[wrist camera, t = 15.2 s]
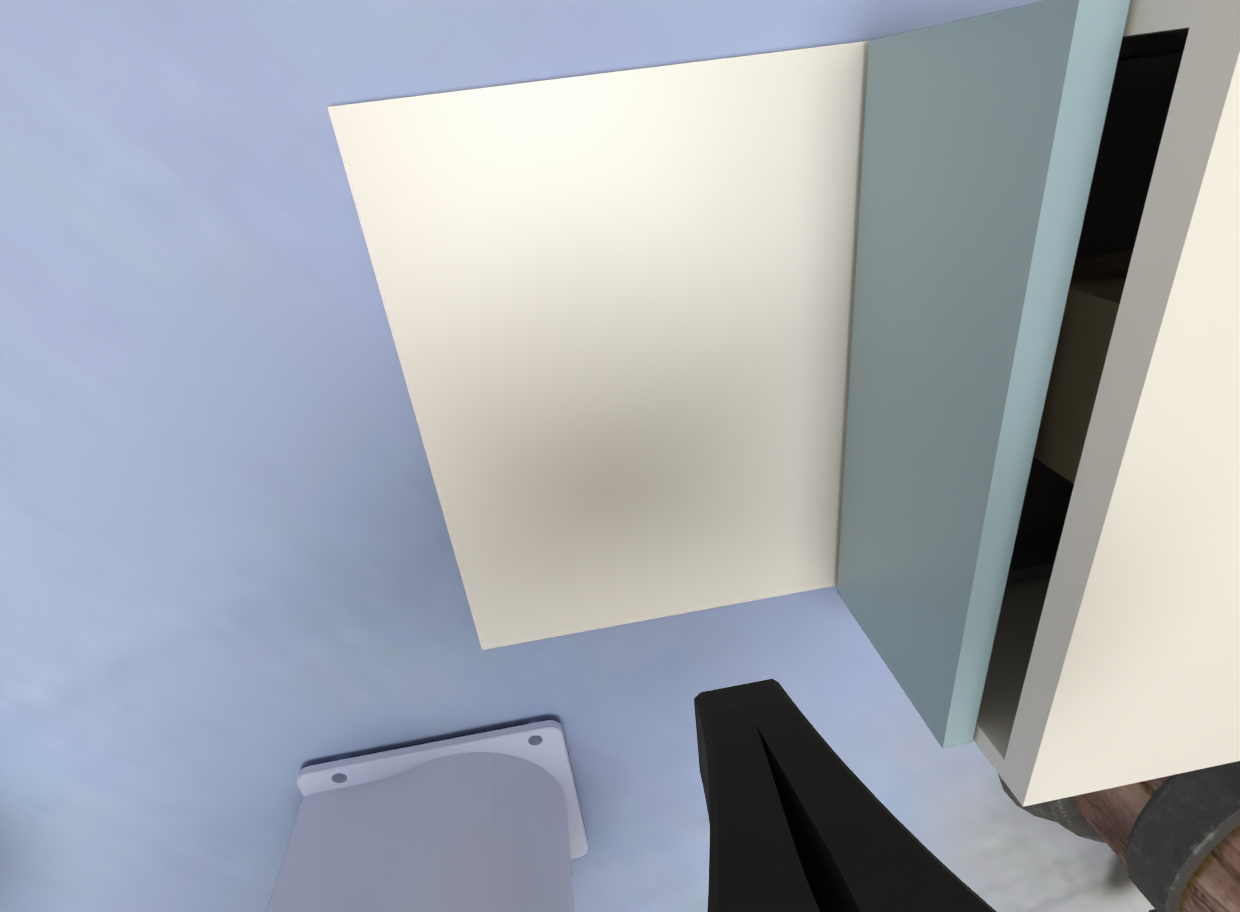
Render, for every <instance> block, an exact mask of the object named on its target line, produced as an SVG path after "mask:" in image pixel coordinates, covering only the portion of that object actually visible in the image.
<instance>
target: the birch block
mask: <svg viewBox="0 0 1240 912" xmlns="http://www.w3.org/2000/svg"><path fill="white" fill-rule="evenodd" d="M1133 249H1134V248H1133ZM1133 249H1127V250H1120V251H1114V252H1108V253H1101V254H1095V255H1088V256H1082V257H1076V258H1075V263H1074V267H1073V272H1072V277H1071V281H1070V286H1069V291H1068V296H1067V300H1066V305H1065V310H1064V314H1063V319H1062V324H1061V328H1060V333H1059V338H1058V342H1057V347H1056V352H1055V356H1054V361H1053V366H1052V371H1051V375H1050V380H1049V385H1048V389H1047V394H1046V399H1045V403H1044V408H1043V413H1042V417H1041V422H1040V427H1039V432H1038V436H1037V441H1036V446H1035V450H1034V455H1033V457H1034V458H1035V459H1037V460H1038V461H1040V462H1041V463H1043V464H1044V465H1046V466H1047V467H1049V468H1050V469H1052V470H1053V471H1055V472H1056V473H1058V474H1059V475H1061V476H1063V477H1064V478H1066V479H1067V480H1069V481H1070V482H1072V483H1073V484H1074V483H1075V479H1076V475H1077V471H1078V467H1079V463H1080V459H1081V455H1082V451H1083V447H1084V443H1085V439H1086V435H1087V431H1088V428H1089V424H1090V420H1091V416H1092V412H1093V408H1094V404H1095V400H1096V396H1097V392H1098V388H1099V384H1100V380H1101V376H1102V372H1103V368H1104V364H1105V360H1106V356H1107V352H1108V348H1109V344H1110V340H1111V336H1112V333H1113V329H1114V325H1115V321H1116V317H1117V313H1118V309H1119V305H1120V301H1121V297H1122V293H1123V289H1124V285H1125V281H1126V277H1127V273H1128V269H1129V265H1130V261H1131V257H1132V253H1133Z"/></svg>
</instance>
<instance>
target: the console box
mask: <svg viewBox="0 0 1240 912" xmlns="http://www.w3.org/2000/svg"><path fill="white" fill-rule="evenodd" d="M1180 50H1184V51H1183V55H1182V59H1181V63H1180V67H1179V71H1178V75H1177V79H1176V83H1175V87H1174V91H1173V95H1172V99H1171V103H1170V107H1169V111H1168V115H1167V119H1166V123H1165V127H1164V131H1163V135H1162V139H1161V143H1160V146H1159V150H1158V154H1157V158H1156V162H1155V166H1154V170H1153V174H1152V178H1151V182H1150V186H1149V190H1148V194H1147V198H1146V202H1145V206H1144V210H1143V214H1142V218H1141V222H1140V226H1139V230H1138V234H1137V238H1136V241H1135V245H1134V249H1133V253H1132V257H1131V261H1130V265H1129V269H1128V273H1127V277H1126V281H1125V285H1124V289H1123V293H1122V297H1121V301H1120V305H1119V309H1118V313H1117V317H1116V321H1115V325H1114V329H1113V333H1112V336H1111V340H1110V344H1109V348H1108V352H1107V356H1106V360H1105V364H1104V368H1103V372H1102V376H1101V380H1100V384H1099V388H1098V392H1097V396H1096V400H1095V404H1094V408H1093V412H1092V416H1091V420H1090V424H1089V428H1088V431H1087V435H1086V439H1085V443H1084V447H1083V451H1082V455H1081V459H1080V463H1079V467H1078V471H1077V475H1076V479H1075V483H1074V487H1073V491H1072V495H1071V499H1070V503H1069V507H1068V511H1067V515H1066V519H1065V523H1064V526H1063V530H1062V534H1061V538H1060V542H1059V546H1058V550H1057V554H1056V558H1055V562H1054V566H1053V570H1052V574H1051V576H1048V577H1042V578H1037V579H1032V580H1026V581H1021V582H1016V583H1010V584H1006V586H1005V591H1004V596H1003V600H1002V605H1001V610H1000V614H999V619H998V624H997V629H996V633H995V638H994V643H993V647H992V652H991V657H990V661H989V666H988V671H987V675H986V680H985V685H984V689H983V694H982V699H981V704H980V708H979V713H978V718H977V722H976V727H975V732H974V736H973V740H974V741H975V742H976V744H977V745H978V746H979V748H980V749H981V751H982V752H983V753H984V755H985V756H986V757H987V759H988V760H989V761H990V763H991V764H992V766H993V767H994V768H995V770H996V771H997V772H998V774H999V775H1000V776H1001V778H1002V779H1003V781H1004V782H1005V783H1006V785H1007V786H1008V787H1009V789H1010V790H1011V791H1012V793H1013V794H1014V796H1015V797H1016V798H1017V800H1018V801H1019V802H1020V804H1021V805H1022V806H1023V807H1024V806H1029V805H1034V804H1038V803H1043V802H1048V801H1053V800H1057V799H1062V798H1067V797H1071V796H1076V795H1081V794H1086V793H1090V792H1095V791H1100V790H1104V789H1109V788H1114V787H1119V786H1123V785H1128V784H1133V783H1138V782H1142V781H1147V780H1152V779H1156V778H1161V777H1166V776H1171V775H1175V774H1180V773H1185V772H1190V771H1194V770H1199V769H1204V768H1208V767H1213V766H1218V765H1223V764H1227V763H1232V762H1237V761H1240V0H1130V5H1129V9H1128V14H1127V19H1126V23H1125V28H1124V33H1123V38H1122V42H1121V47H1120V52H1119V56H1118V58H1125V57H1133V56H1141V55H1149V54H1157V53H1164V52H1172V51H1180ZM868 53H869V41H863V42H855V43H847V44H839V45H831V46H822V47H814V48H806V49H798V50H790V51H782V52H773V53H765V54H757V55H749V56H741V57H732V58H724V59H716V60H708V61H700V62H692V63H683V64H675V65H667V66H659V67H651V68H642V69H634V70H626V71H618V72H610V73H602V74H593V75H585V76H577V77H569V78H561V79H552V80H544V81H536V82H528V83H520V84H512V85H503V86H495V87H487V88H479V89H471V90H462V91H454V92H446V93H438V94H430V95H421V96H413V97H405V98H397V99H389V100H381V101H372V102H364V103H356V104H348V105H340V106H331V107H328V110H329V114H330V117H331V121H332V124H333V128H334V131H335V135H336V139H337V142H338V146H339V149H340V153H341V156H342V160H343V163H344V167H345V170H346V174H347V177H348V181H349V184H350V188H351V191H352V195H353V198H354V202H355V205H356V209H357V212H358V216H359V219H360V223H361V226H362V230H363V233H364V237H365V240H366V244H367V247H368V251H369V255H370V258H371V262H372V265H373V269H374V272H375V276H376V279H377V283H378V286H379V290H380V293H381V297H382V300H383V304H384V307H385V311H386V314H387V318H388V321H389V325H390V328H391V332H392V335H393V339H394V342H395V346H396V349H397V353H398V356H399V360H400V363H401V367H402V370H403V374H404V378H405V381H406V385H407V388H408V392H409V395H410V399H411V402H412V406H413V409H414V413H415V416H416V420H417V423H418V427H419V430H420V434H421V437H422V441H423V444H424V448H425V451H426V455H427V458H428V462H429V465H430V469H431V472H432V476H433V479H434V483H435V486H436V490H437V494H438V497H439V501H440V504H441V508H442V511H443V515H444V518H445V522H446V525H447V529H448V532H449V536H450V539H451V543H452V546H453V550H454V553H455V557H456V560H457V564H458V567H459V571H460V574H461V578H462V581H463V585H464V588H465V592H466V595H467V599H468V602H469V606H470V610H471V613H472V617H473V620H474V624H475V627H476V631H477V634H478V638H479V641H480V645H481V648H482V650H486V649H491V648H497V647H502V646H508V645H513V644H519V643H524V642H530V641H535V640H540V639H546V638H551V637H557V636H562V635H568V634H573V633H579V632H584V631H590V630H595V629H601V628H606V627H612V626H617V625H623V624H628V623H634V622H639V621H645V620H650V619H656V618H661V617H667V616H672V615H677V614H683V613H688V612H694V611H699V610H705V609H710V608H716V607H721V606H727V605H732V604H738V603H743V602H749V601H754V600H760V599H765V598H771V597H776V596H782V595H787V594H793V593H798V592H803V591H809V590H814V589H820V588H825V587H831V586H836V585H837V582H838V565H839V548H840V531H841V514H842V497H843V479H844V462H845V445H846V428H847V411H848V394H849V377H850V360H851V343H852V326H853V309H854V292H855V275H856V258H857V240H858V223H859V206H860V189H861V172H862V155H863V138H864V121H865V104H866V87H867V70H868Z"/></svg>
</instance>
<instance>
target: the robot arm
mask: <svg viewBox="0 0 1240 912" xmlns="http://www.w3.org/2000/svg"><path fill="white" fill-rule="evenodd" d="M694 704H695V716H696V728H697V740H698V753H699V765H700V773H701V778H702V782H703V787H704V792H705V797H706V803H707V809H708V815H709V822H710V861H709V896H708V912H996V911H995V910H994V909H993V908H992V907H991V906H989V905H988V904H987V903H986V902H985V901H984V900H983V899H982V898H980V897H979V896H978V895H977V894H976V893H975V892H974V891H972V890H971V889H970V888H969V887H968V886H967V885H966V884H965V883H963V882H962V881H961V880H960V879H959V878H958V877H957V876H956V875H955V874H954V873H952V872H951V871H950V870H949V869H948V868H947V867H946V866H945V865H944V864H943V863H942V862H941V861H940V860H939V859H937V858H936V857H935V856H934V855H933V854H932V853H931V852H930V851H929V850H928V849H927V848H926V847H925V846H924V845H923V844H922V843H921V842H920V841H919V840H918V839H917V838H916V837H915V836H914V835H913V834H912V833H911V832H910V831H909V830H908V829H907V828H906V827H905V826H904V825H903V824H901V823H900V822H899V821H898V820H897V819H896V817H895V816H894V815H893V814H892V813H891V812H890V811H889V810H888V809H887V808H886V807H885V806H884V805H883V804H882V803H881V802H880V801H879V800H878V799H877V798H876V797H875V796H874V795H873V794H872V792H871V791H870V790H869V789H868V788H867V787H866V786H865V785H864V784H863V783H862V782H861V781H860V780H859V778H858V777H857V776H856V775H855V774H854V773H853V772H852V771H851V770H850V769H849V768H848V767H847V765H846V764H845V763H844V762H843V761H842V760H841V759H840V758H839V756H838V755H837V754H836V753H835V752H834V751H833V750H832V748H831V747H830V746H829V745H828V744H827V743H826V741H825V740H824V739H823V738H822V737H821V736H820V734H819V733H818V732H817V731H816V730H815V728H814V727H813V726H812V725H811V724H810V722H809V721H808V720H807V719H806V718H805V716H804V715H803V714H802V713H801V711H800V710H799V709H798V708H797V706H796V705H795V704H794V702H793V701H792V700H791V698H790V697H789V696H788V695H787V693H786V692H785V691H784V689H783V688H782V687H781V685H780V684H779V683H778V682H777V681H775V680H774V679H769V680H764V681H759V682H753V683H748V684H743V685H738V686H733V687H727V688H722V689H717V690H712V691H706V692H701V693H700V694H699V695H698V696H697V697H696V698H695V699H694ZM534 735H538V736H534ZM296 783H297V786H298V788H299V790H300V792H301V794H302V796H303V798H302V801H301V804H300V807H299V810H298V813H297V817H296V820H295V823H294V826H293V829H292V832H291V835H290V839H289V842H288V845H287V848H286V851H285V854H284V857H283V861H282V864H281V867H280V870H279V873H278V876H277V879H276V883H275V886H274V889H273V892H272V895H271V898H270V902H269V905H268V908H267V911H266V912H574V900H573V886H572V872H571V860H572V859H576V858H580V857H582V856H584V855H585V854H586V853H587V852H588V841H587V837H586V832H585V828H584V823H583V819H582V814H581V810H580V805H579V801H578V796H577V792H576V787H575V783H574V778H573V774H572V769H571V765H570V760H569V756H568V752H567V747H566V743H565V738H564V734H563V729H562V726H561V724H560V723H558V722H557V721H553V720H546V721H541V722H536V723H530V724H525V725H520V726H515V727H509V728H504V729H499V730H494V731H488V732H483V733H478V734H473V735H468V736H462V737H457V738H452V739H447V740H441V741H436V742H431V743H426V744H421V745H415V746H410V747H405V748H400V749H394V750H389V751H384V752H379V753H374V754H368V755H363V756H358V757H353V758H347V759H342V760H337V761H332V762H327V763H321V764H316V765H311V766H307V767H305V768H303V769H302V770H300V772H299V775H298V778H297V781H296Z"/></svg>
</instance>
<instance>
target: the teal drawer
mask: <svg viewBox="0 0 1240 912" xmlns="http://www.w3.org/2000/svg"><path fill="white" fill-rule="evenodd" d="M1129 5H1130V0H1046V1H1042V2H1037V3H1033V4H1029V5H1024V6H1020V7H1015V8H1011V9H1006V10H1002V11H997V12H993V13H988V14H984V15H979V16H975V17H970V18H966V19H962V20H957V21H953V22H948V23H944V24H939V25H935V26H930V27H926V28H921V29H917V30H912V31H908V32H903V33H899V34H895V35H890V36H886V37H881V38H877V39H872V40H869V53H868V70H867V87H866V104H865V121H864V138H863V155H862V172H861V189H860V206H859V223H858V240H857V258H856V275H855V292H854V309H853V326H852V343H851V360H850V377H849V394H848V411H847V428H846V445H845V462H844V479H843V497H842V514H841V531H840V548H839V565H838V582H837V592H838V594H839V595H840V597H841V598H842V600H843V601H844V603H845V604H846V606H847V607H848V609H849V610H850V612H851V613H852V615H853V616H854V618H855V619H856V621H857V622H858V624H859V625H860V627H861V628H862V630H863V631H864V633H865V634H866V635H867V637H868V638H869V640H870V641H871V643H872V644H873V646H874V647H875V649H876V650H877V652H878V653H879V655H880V656H881V658H882V659H883V661H884V662H885V664H886V665H887V667H888V668H889V670H890V671H891V673H892V674H893V676H894V677H895V679H896V680H897V681H898V683H899V684H900V686H901V687H902V689H903V690H904V692H905V693H906V695H907V696H908V698H909V699H910V701H911V702H912V704H913V705H914V707H915V708H916V710H917V711H918V713H919V714H920V716H921V717H922V719H923V720H924V722H925V723H926V725H927V726H928V727H929V729H930V730H931V732H932V733H933V735H934V736H935V738H936V739H937V741H938V742H939V744H940V745H941V747H942V748H947V747H952V746H957V745H962V744H967V743H972V741H973V736H974V732H975V727H976V722H977V718H978V713H979V708H980V704H981V699H982V694H983V689H984V685H985V680H986V675H987V671H988V666H989V661H990V657H991V652H992V647H993V643H994V638H995V633H996V629H997V624H998V619H999V614H1000V610H1001V605H1002V600H1003V596H1004V591H1005V586H1006V584H1010V583H1016V582H1021V581H1026V580H1032V579H1037V578H1042V577H1048V576H1051V574H1052V570H1053V566H1054V562H1055V558H1056V554H1057V550H1058V546H1059V542H1060V538H1061V534H1062V530H1063V526H1064V523H1065V519H1066V515H1067V511H1068V507H1069V503H1070V499H1071V495H1072V491H1073V487H1074V484H1073V483H1072V482H1070V481H1069V480H1067V479H1066V478H1064V477H1063V476H1061V475H1059V474H1058V473H1056V472H1055V471H1053V470H1052V469H1050V468H1049V467H1047V466H1046V465H1044V464H1043V463H1041V462H1040V461H1038V460H1037V459H1035V458H1034V457H1033V455H1034V450H1035V446H1036V441H1037V436H1038V432H1039V427H1040V422H1041V417H1042V413H1043V408H1044V403H1045V399H1046V394H1047V389H1048V385H1049V380H1050V375H1051V371H1052V366H1053V361H1054V356H1055V352H1056V347H1057V342H1058V338H1059V333H1060V328H1061V324H1062V319H1063V314H1064V310H1065V305H1066V300H1067V296H1068V291H1069V286H1070V281H1071V277H1072V272H1073V267H1074V263H1075V258H1076V257H1082V256H1088V255H1095V254H1101V253H1108V252H1114V251H1120V250H1127V249H1133V248H1134V245H1135V241H1136V238H1137V234H1138V230H1139V226H1140V222H1141V218H1142V214H1143V210H1144V206H1145V202H1146V198H1147V194H1148V190H1149V186H1150V182H1151V178H1152V174H1153V170H1154V166H1155V162H1156V158H1157V154H1158V150H1159V146H1160V143H1161V139H1162V135H1163V131H1164V127H1165V123H1166V119H1167V115H1168V111H1169V107H1170V103H1171V99H1172V95H1173V91H1174V87H1175V83H1176V79H1177V75H1178V71H1179V67H1180V63H1181V59H1182V55H1183V51H1184V50H1180V51H1172V52H1164V53H1157V54H1149V55H1141V56H1133V57H1125V58H1118V56H1119V52H1120V47H1121V42H1122V38H1123V33H1124V28H1125V23H1126V19H1127V14H1128V9H1129Z"/></svg>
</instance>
